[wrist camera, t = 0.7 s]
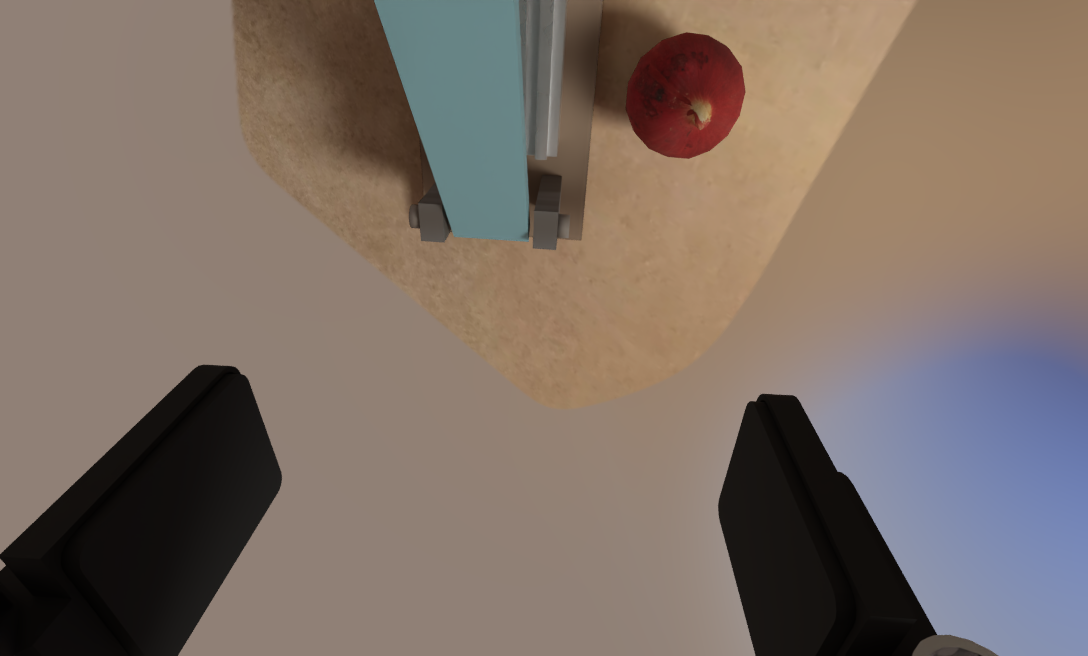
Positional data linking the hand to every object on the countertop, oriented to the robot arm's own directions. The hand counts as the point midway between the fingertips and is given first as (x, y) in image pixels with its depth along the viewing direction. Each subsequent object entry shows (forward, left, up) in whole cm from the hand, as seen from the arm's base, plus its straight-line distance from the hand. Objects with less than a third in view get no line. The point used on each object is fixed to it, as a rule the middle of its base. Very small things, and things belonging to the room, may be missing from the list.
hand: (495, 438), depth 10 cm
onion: (-3, +7, -26) cm, 27 cm away
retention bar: (-4, -3, -14) cm, 15 cm away
